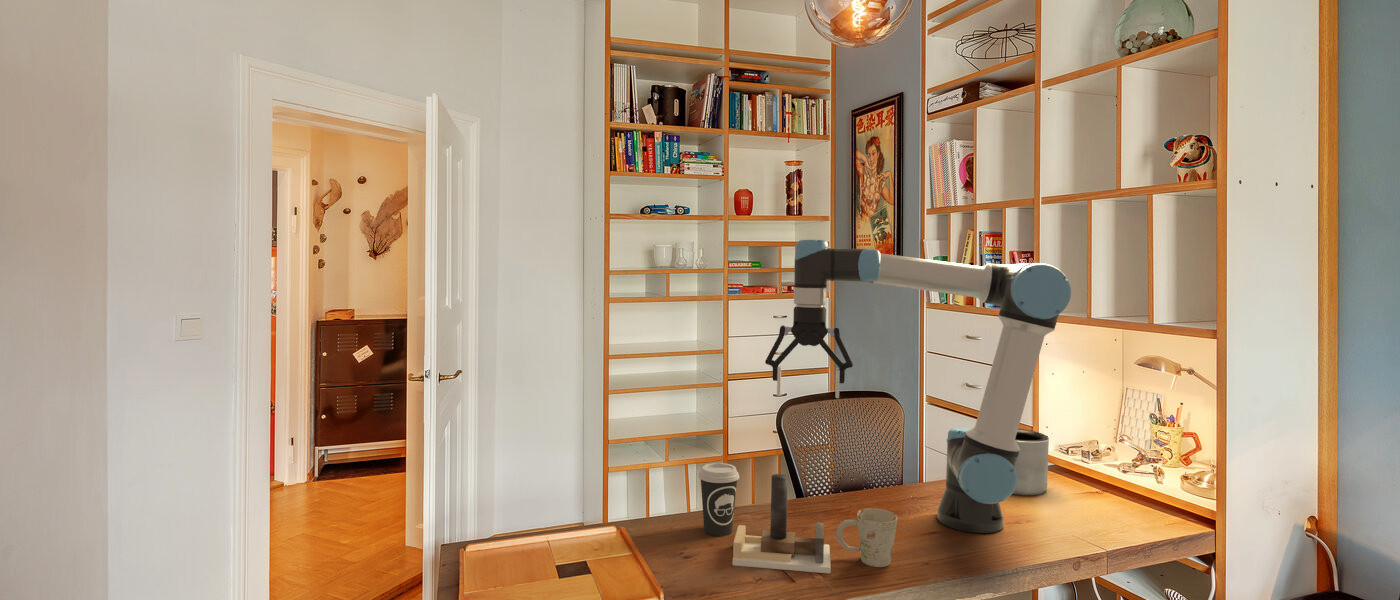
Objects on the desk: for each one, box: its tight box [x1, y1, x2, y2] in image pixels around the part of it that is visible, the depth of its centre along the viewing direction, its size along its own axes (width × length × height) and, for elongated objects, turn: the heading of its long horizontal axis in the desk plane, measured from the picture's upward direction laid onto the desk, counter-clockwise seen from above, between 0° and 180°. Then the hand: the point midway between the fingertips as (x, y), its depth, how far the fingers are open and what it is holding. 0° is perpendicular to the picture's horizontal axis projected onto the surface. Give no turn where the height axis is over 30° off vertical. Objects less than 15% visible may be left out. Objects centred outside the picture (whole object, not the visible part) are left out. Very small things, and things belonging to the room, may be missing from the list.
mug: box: [835, 507, 898, 568], centre depth 149 cm, size 8×13×10 cm, turn 78°
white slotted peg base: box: [732, 524, 832, 574], centre depth 150 cm, size 20×12×4 cm, turn 81°
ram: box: [761, 473, 825, 563], centre depth 149 cm, size 13×9×16 cm
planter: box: [1012, 428, 1050, 496], centre depth 199 cm, size 16×16×16 cm
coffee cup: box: [698, 462, 740, 537], centre depth 164 cm, size 10×10×15 cm
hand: (807, 396), depth 165 cm, fingers open, 13 cm apart
